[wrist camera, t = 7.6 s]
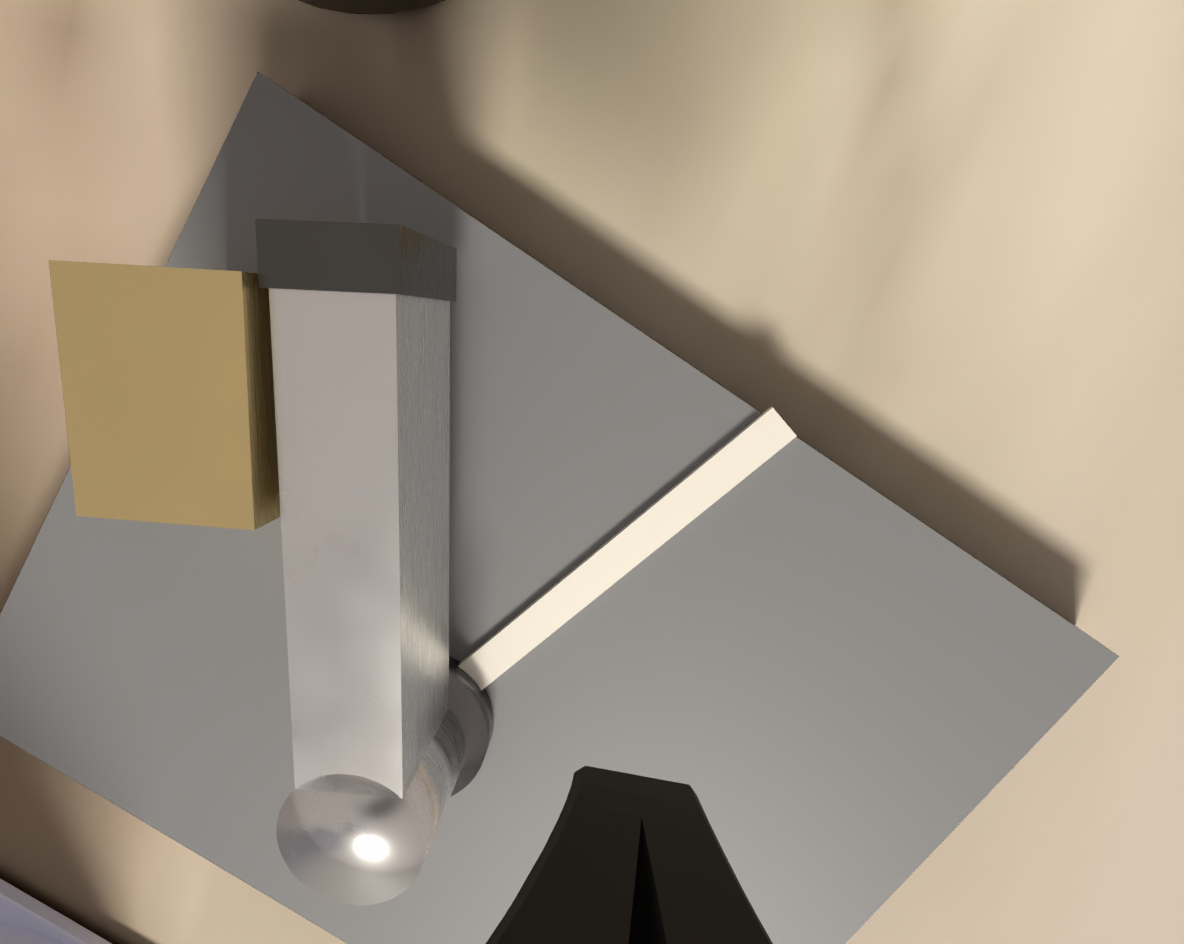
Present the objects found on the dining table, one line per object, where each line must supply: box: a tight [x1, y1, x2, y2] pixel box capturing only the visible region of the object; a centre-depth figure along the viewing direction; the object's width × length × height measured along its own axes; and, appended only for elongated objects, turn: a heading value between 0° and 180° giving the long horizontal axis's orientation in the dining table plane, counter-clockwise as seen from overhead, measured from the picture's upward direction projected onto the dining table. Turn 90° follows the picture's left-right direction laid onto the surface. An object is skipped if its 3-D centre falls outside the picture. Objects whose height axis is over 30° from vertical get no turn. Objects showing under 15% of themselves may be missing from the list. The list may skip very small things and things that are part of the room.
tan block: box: [49, 260, 281, 530], centre depth 13 cm, size 4×3×4 cm
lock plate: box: [0, 72, 1119, 944], centre depth 17 cm, size 18×22×2 cm
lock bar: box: [255, 219, 466, 906], centre depth 13 cm, size 12×3×3 cm, turn 177°
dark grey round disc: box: [449, 656, 494, 797], centre depth 16 cm, size 4×4×1 cm
